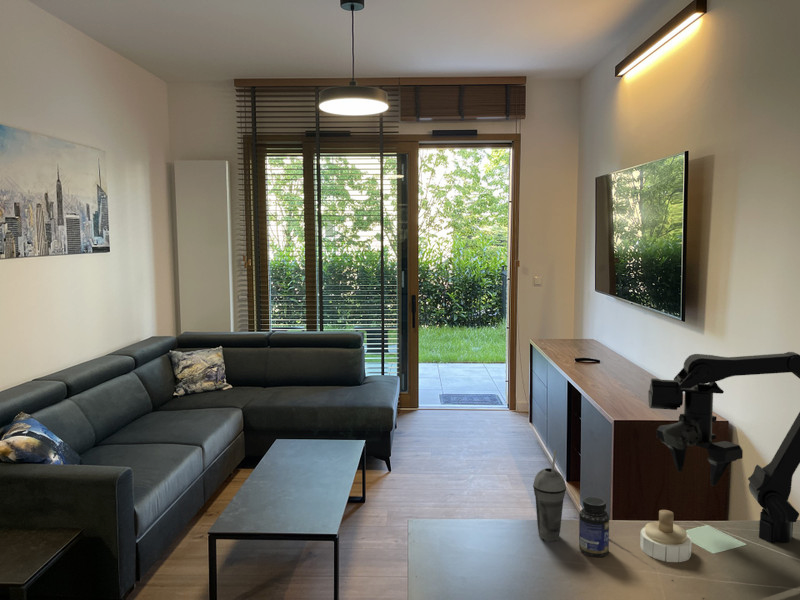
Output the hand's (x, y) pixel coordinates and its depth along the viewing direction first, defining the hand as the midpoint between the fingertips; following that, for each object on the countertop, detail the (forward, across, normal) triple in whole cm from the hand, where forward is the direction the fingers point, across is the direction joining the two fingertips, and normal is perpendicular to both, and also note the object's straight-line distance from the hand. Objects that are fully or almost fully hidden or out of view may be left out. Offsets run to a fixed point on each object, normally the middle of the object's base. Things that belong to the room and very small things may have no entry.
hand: (696, 478), depth 135 cm
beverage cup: (+13, -11, -32) cm, 36 cm away
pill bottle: (+13, -2, -27) cm, 30 cm away
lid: (+8, +5, -14) cm, 17 cm away
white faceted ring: (+12, +5, -14) cm, 19 cm away
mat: (+12, +5, -1) cm, 14 cm away
